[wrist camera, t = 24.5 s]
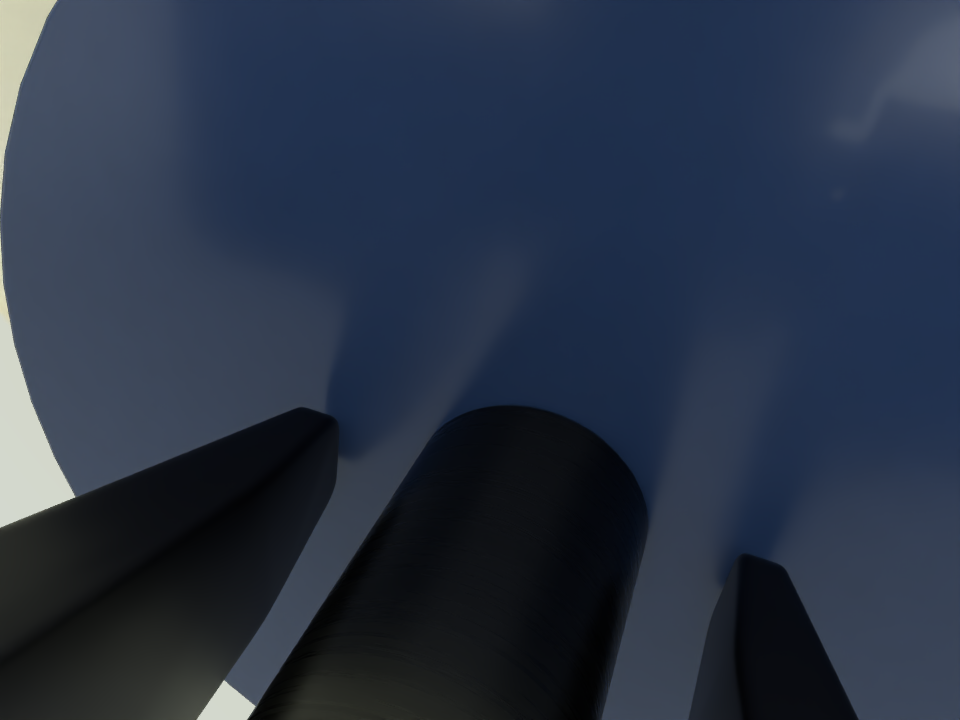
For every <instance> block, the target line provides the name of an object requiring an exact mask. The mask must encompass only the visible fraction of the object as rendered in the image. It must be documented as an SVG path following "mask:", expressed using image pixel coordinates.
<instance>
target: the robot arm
mask: <svg viewBox="0 0 960 720" xmlns="http://www.w3.org/2000/svg"><path fill="white" fill-rule="evenodd" d="M338 445H339V425H338V421H337V420H336V419H335V418H334V417H333V416H331V415H328V414H325V413H321V412H318V411H315V410H312V409H309V408H305V407H299V408H295V409H292V410H290V411H288V412H285V413H283V414H280V415H278V416H275V417H273V418H270V419H268V420H265V421H263V422H260V423H258V424H255V425H253V426H250V427H248V428H246V429H243V430H241V431H238V432H236V433H233V434H231V435H228V436H226V437H223V438H221V439H218V440H216V441H213V442H211V443H208V444H206V445H204V446H201V447H199V448H196V449H194V450H191V451H189V452H186V453H184V454H181V455H179V456H176V457H174V458H171V459H169V460H167V461H164V462H162V463H159V464H157V465H154V466H152V467H149V468H147V469H144V470H142V471H139V472H137V473H134V474H132V475H129V476H127V477H125V478H122V479H120V480H117V481H115V482H112V483H110V484H107V485H105V486H102V487H100V488H97V489H95V490H92V491H90V492H87V493H85V494H83V495H80V496H78V497H75V498H73V499H70V500H68V501H65V502H63V503H61V504H58V505H55V506H53V507H50V508H48V509H45V510H43V511H41V512H38V513H36V514H33V515H31V516H28V517H26V518H23V519H21V520H18V521H16V522H13V523H11V524H9V525H6V526H4V527H1V528H0V720H196V719H197V718H198V717H199V715H200V714H201V712H202V711H203V709H204V708H205V707H206V705H207V704H208V702H209V701H210V699H211V698H212V696H213V695H214V693H215V692H216V691H217V689H218V688H219V686H220V685H221V683H222V682H223V681H224V679H225V678H226V676H227V675H228V673H229V672H230V670H231V669H232V668H233V666H234V665H235V663H236V662H237V660H238V659H239V657H240V656H241V655H242V653H243V652H244V650H245V649H246V647H247V646H248V644H249V643H250V642H251V640H252V639H253V637H254V636H255V634H256V633H257V631H258V629H259V628H260V626H261V625H262V623H263V622H264V620H265V619H266V617H267V615H268V613H269V612H270V610H271V608H272V606H273V605H274V603H275V601H276V599H277V597H278V596H279V594H280V592H281V590H282V588H283V586H284V584H285V583H286V581H287V579H288V577H289V575H290V573H291V571H292V569H293V568H294V566H295V564H296V562H297V560H298V558H299V556H300V555H301V553H302V551H303V549H304V547H305V545H306V543H307V541H308V540H309V538H310V536H311V534H312V532H313V530H314V528H315V526H316V525H317V523H318V521H319V519H320V517H321V515H322V513H323V512H324V510H325V508H326V506H327V504H328V502H329V500H330V498H331V496H332V493H333V491H334V488H335V484H336V479H337V464H338ZM688 720H859V719H858V717H857V715H856V713H855V711H854V709H853V707H852V705H851V702H850V700H849V698H848V696H847V694H846V692H845V690H844V688H843V686H842V684H841V682H840V680H839V678H838V676H837V674H836V672H835V669H834V667H833V665H832V663H831V661H830V659H829V657H828V655H827V653H826V651H825V649H824V647H823V645H822V643H821V641H820V638H819V636H818V634H817V632H816V630H815V628H814V626H813V624H812V622H811V620H810V618H809V616H808V614H807V612H806V610H805V608H804V605H803V603H802V601H801V599H800V597H799V595H798V593H797V591H796V589H795V587H794V585H793V583H792V581H791V579H790V577H789V575H788V573H787V571H786V570H785V568H784V567H783V566H781V565H780V564H778V563H775V562H772V561H769V560H766V559H763V558H760V557H757V556H754V555H751V554H747V553H744V554H741V555H739V556H738V557H737V558H736V560H735V562H734V564H733V566H732V569H731V571H730V573H729V576H728V578H727V580H726V583H725V585H724V587H723V590H722V592H721V594H720V597H719V599H718V601H717V604H716V606H715V608H714V611H713V614H712V617H711V620H710V623H709V627H708V631H707V635H706V640H705V645H704V649H703V654H702V659H701V663H700V668H699V672H698V677H697V682H696V686H695V691H694V696H693V700H692V705H691V710H690V714H689V719H688Z"/></svg>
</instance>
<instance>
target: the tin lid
mask: <svg viewBox="0 0 960 720" xmlns="http://www.w3.org/2000/svg"><path fill="white" fill-rule="evenodd" d="M0 233H1V251H2V269H3V284H4V290H5V295H6V301H7V306H8V312H9V317H10V323H11V329H12V334H13V340H14V345H15V348H16V352H17V355H18V358H19V362H20V365H21V368H22V371H23V375H24V378H25V382H26V385H27V388H28V392H29V395H30V398H31V402H32V404H33V407H34V409H35V411H36V414H37V416H38V419H39V421H40V424H41V426H42V428H43V431H44V433H45V435H46V438H47V440H48V443H49V445H50V447H51V450H52V452H53V455H54V457H55V459H56V461H57V463H58V465H59V466H60V469H61V470H62V472H63V474H64V476H65V478H66V479H67V482H68V483H69V485H70V487H71V489H72V491H73V493H74V495H75V497H78V496H80V495H83V494H85V493H87V492H90V491H92V490H95V489H97V488H100V487H102V486H105V485H107V484H110V483H112V482H115V481H117V480H120V479H122V478H125V477H127V476H129V475H132V474H134V473H137V472H139V471H142V470H144V469H147V468H149V467H152V466H154V465H157V464H159V463H162V462H164V461H167V460H169V459H171V458H174V457H176V456H179V455H181V454H184V453H186V452H189V451H191V450H194V449H196V448H199V447H201V446H204V445H206V444H208V443H211V442H213V441H216V440H218V439H221V438H223V437H226V436H228V435H231V434H233V433H236V432H238V431H241V430H243V429H246V428H248V427H250V426H253V425H255V424H258V423H260V422H263V421H265V420H268V419H270V418H273V417H275V416H278V415H280V414H283V413H285V412H288V411H290V410H292V409H295V408H299V407H305V408H309V409H312V410H315V411H318V412H321V413H325V414H328V415H331V416H333V417H334V418H335V419H336V420H337V421H338V425H339V445H338V464H337V479H336V484H335V488H334V491H333V493H332V496H331V498H330V500H329V502H328V504H327V506H326V508H325V510H324V512H323V513H322V515H321V517H320V519H319V521H318V523H317V525H316V526H315V528H314V530H313V532H312V534H311V536H310V538H309V540H308V541H307V543H306V545H305V547H304V549H303V551H302V553H301V555H300V556H299V558H298V560H297V562H296V564H295V566H294V568H293V569H292V571H291V573H290V575H289V577H288V579H287V581H286V583H285V584H284V586H283V588H282V590H281V592H280V594H279V596H278V597H277V599H276V601H275V603H274V605H273V606H272V608H271V610H270V612H269V613H268V615H267V617H266V619H265V620H264V622H263V623H262V625H261V626H260V628H259V629H258V631H257V633H256V634H255V636H254V637H253V639H252V640H251V642H250V643H249V644H248V646H247V647H246V649H245V650H244V652H243V653H242V655H241V656H240V657H239V659H238V660H237V662H236V663H235V665H234V666H233V668H232V669H231V670H230V672H229V673H228V675H227V676H226V678H225V679H224V680H225V681H226V682H227V683H228V684H229V685H230V686H232V687H233V688H234V689H236V690H237V691H238V692H239V693H240V694H242V695H243V696H244V697H245V698H246V699H248V700H249V701H250V702H251V703H252V704H254V705H255V706H256V707H255V709H254V710H253V712H252V713H251V715H250V716H249V718H248V719H247V720H688V719H689V714H690V710H691V705H692V700H693V696H694V691H695V686H696V682H697V677H698V672H699V668H700V663H701V659H702V654H703V649H704V645H705V640H706V635H707V631H708V627H709V623H710V620H711V617H712V614H713V611H714V608H715V606H716V604H717V601H718V599H719V597H720V594H721V592H722V590H723V587H724V585H725V583H726V580H727V578H728V576H729V573H730V571H731V569H732V566H733V564H734V562H735V560H736V558H737V557H738V556H739V555H741V554H744V553H747V554H751V555H754V556H757V557H760V558H763V559H766V560H769V561H772V562H775V563H778V564H780V565H781V566H783V567H784V568H785V570H786V571H787V573H788V575H789V577H790V579H791V581H792V583H793V585H794V587H795V589H796V591H797V593H798V595H799V597H800V599H801V601H802V603H803V605H804V608H805V610H806V612H807V614H808V616H809V618H810V620H811V622H812V624H813V626H814V628H815V630H816V632H817V634H818V636H819V638H820V641H821V643H822V645H823V647H824V649H825V651H826V653H827V655H828V657H829V659H830V661H831V663H832V665H833V667H834V669H835V672H836V674H837V676H838V678H839V680H840V682H841V684H842V686H843V688H844V690H845V692H846V694H847V696H848V698H849V700H850V702H851V705H852V707H853V709H854V711H855V713H856V715H857V717H858V719H859V720H960V0H57V2H56V3H55V5H54V7H53V8H52V10H51V12H50V13H49V15H48V17H47V19H46V21H45V24H44V27H43V29H42V32H41V34H40V37H39V39H38V42H37V44H36V47H35V49H34V52H33V54H32V57H31V59H30V62H29V64H28V67H27V69H26V72H25V74H24V77H23V79H22V82H21V84H20V88H19V93H18V97H17V102H16V106H15V110H14V115H13V119H12V124H11V128H10V133H9V137H8V141H7V146H6V150H5V158H4V171H3V184H2V197H1V209H0Z"/></svg>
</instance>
